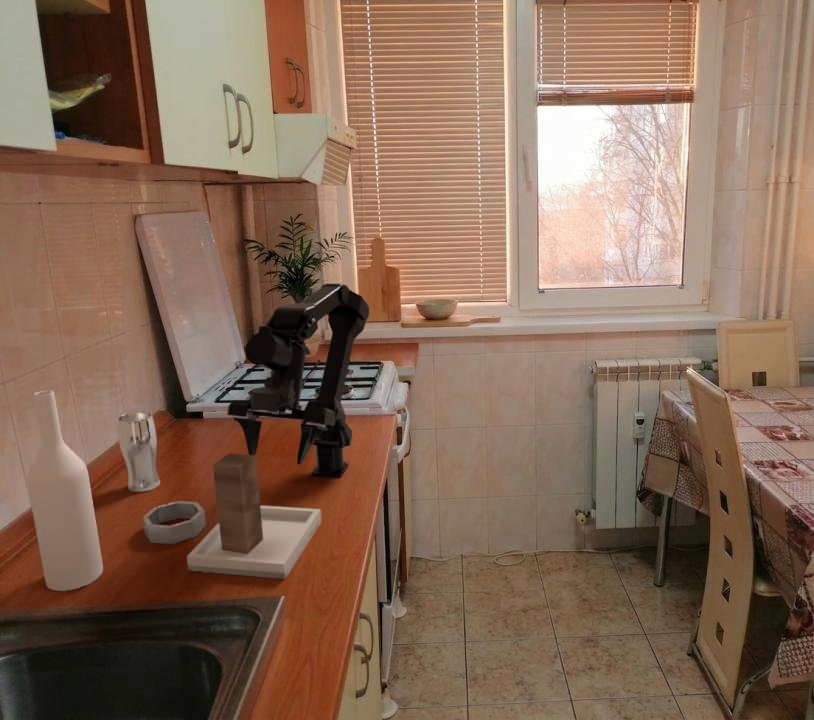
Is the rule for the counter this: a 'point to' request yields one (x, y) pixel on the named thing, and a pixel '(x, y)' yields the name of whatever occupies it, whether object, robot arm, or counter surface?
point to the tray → (261, 545)
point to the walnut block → (238, 502)
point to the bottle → (62, 506)
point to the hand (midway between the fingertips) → (275, 461)
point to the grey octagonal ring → (175, 531)
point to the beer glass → (139, 449)
